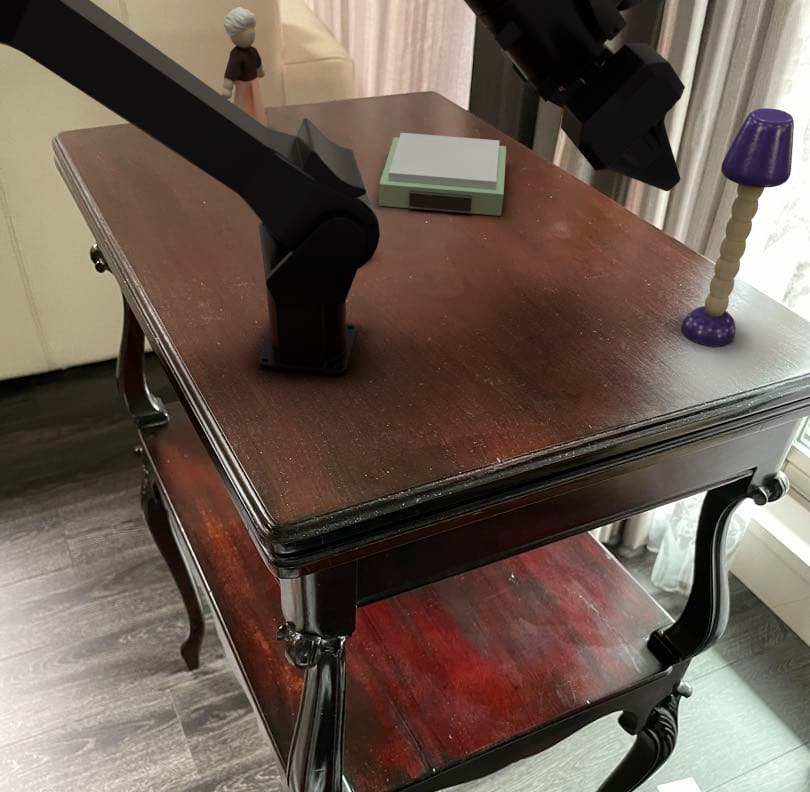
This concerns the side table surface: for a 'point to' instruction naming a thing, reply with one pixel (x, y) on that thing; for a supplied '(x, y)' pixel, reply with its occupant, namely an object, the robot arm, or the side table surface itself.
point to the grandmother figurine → (244, 65)
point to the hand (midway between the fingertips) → (647, 157)
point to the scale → (444, 174)
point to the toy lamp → (742, 213)
